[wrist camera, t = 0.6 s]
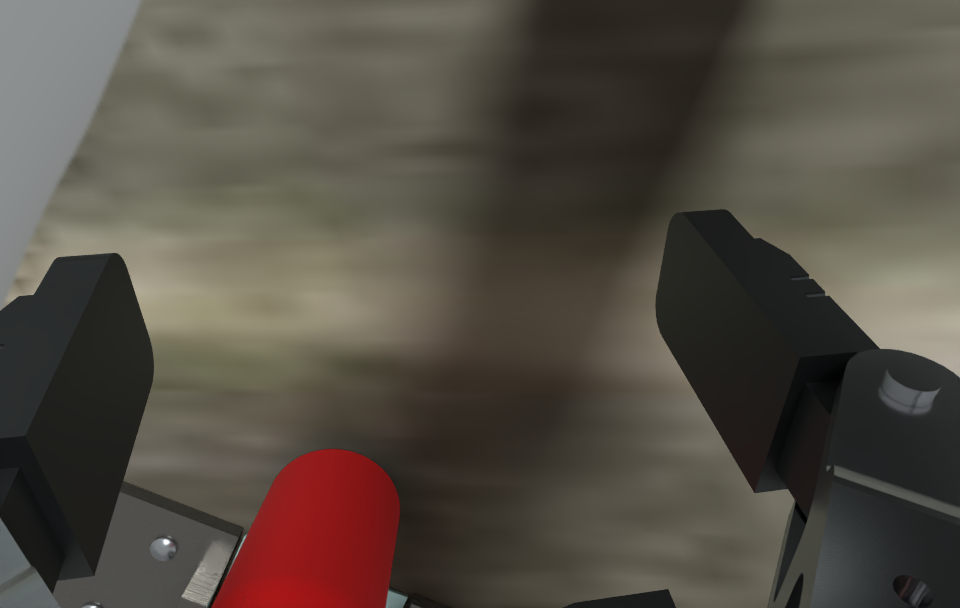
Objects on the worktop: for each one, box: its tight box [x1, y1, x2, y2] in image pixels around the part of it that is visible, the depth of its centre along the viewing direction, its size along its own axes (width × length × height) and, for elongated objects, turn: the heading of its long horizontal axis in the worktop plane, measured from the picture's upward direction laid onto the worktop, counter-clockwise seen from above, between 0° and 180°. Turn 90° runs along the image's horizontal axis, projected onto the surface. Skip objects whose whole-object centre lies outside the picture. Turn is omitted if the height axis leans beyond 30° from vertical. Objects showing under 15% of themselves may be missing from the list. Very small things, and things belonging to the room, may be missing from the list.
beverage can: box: [211, 449, 400, 608], centre depth 30 cm, size 6×6×12 cm
